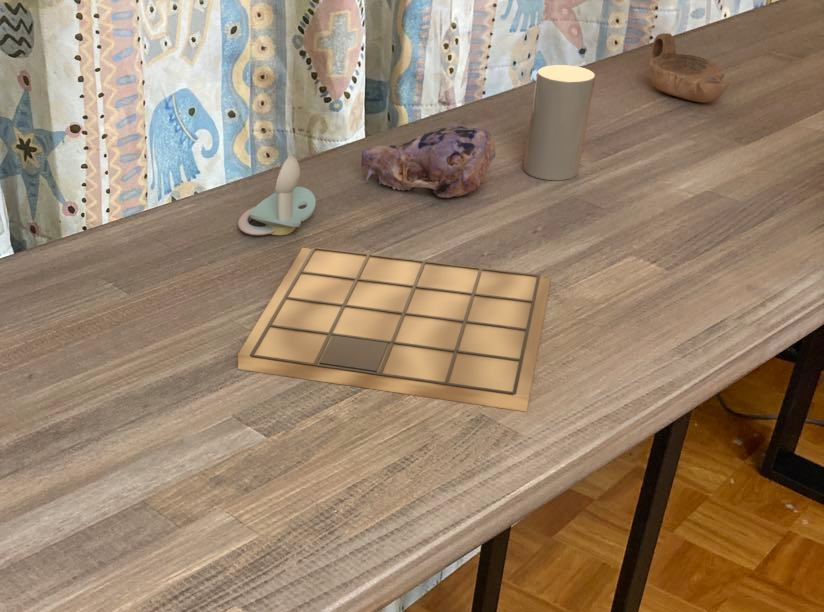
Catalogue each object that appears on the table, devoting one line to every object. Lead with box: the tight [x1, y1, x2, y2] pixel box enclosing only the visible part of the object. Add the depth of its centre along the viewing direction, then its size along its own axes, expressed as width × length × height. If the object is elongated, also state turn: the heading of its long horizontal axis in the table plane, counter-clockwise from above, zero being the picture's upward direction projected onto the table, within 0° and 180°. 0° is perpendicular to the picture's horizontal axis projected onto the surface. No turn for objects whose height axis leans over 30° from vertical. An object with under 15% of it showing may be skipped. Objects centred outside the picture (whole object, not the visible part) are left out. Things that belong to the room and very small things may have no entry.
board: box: [237, 246, 552, 412], centre depth 83 cm, size 20×18×1 cm
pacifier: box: [237, 155, 317, 236], centre depth 95 cm, size 7×6×6 cm
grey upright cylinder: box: [523, 64, 596, 181], centre depth 105 cm, size 5×5×9 cm
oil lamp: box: [648, 32, 730, 103], centre depth 125 cm, size 13×8×5 cm, turn 12°
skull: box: [360, 125, 496, 199], centre depth 103 cm, size 12×8×6 cm, turn 68°
